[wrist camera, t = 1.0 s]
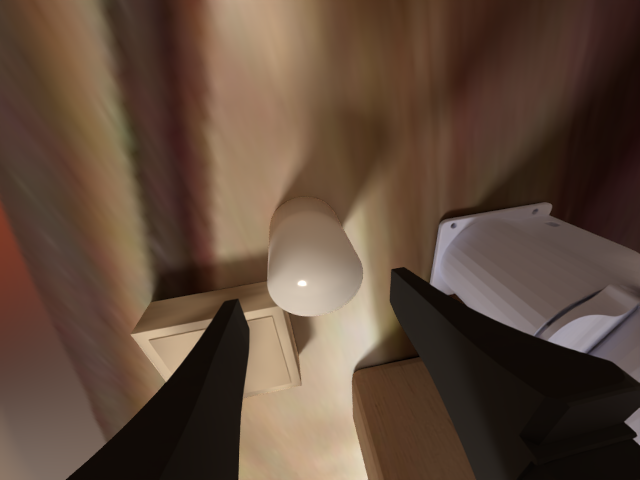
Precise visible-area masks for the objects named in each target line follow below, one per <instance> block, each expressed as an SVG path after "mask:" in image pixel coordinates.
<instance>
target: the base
mask: <svg viewBox="0 0 640 480" xmlns="http://www.w3.org/2000/svg"><path fill="white" fill-rule="evenodd" d="M232 299H239V302H240V304H241V307H242V310H243V312H244V315H245V318H246V321H247V323H248V326H249V329H250V344H249V357H248V365H247V372H246V379H245V386H244V393H243V398H247V397H251V396H256V395H260V394H265V393H269V392H274V391H278V390H283V389H287V388H292V387H296V386H301V374H300V364H299V355H298V350H297V346H296V342H295V338H294V334H293V329H292V325H291V321H290V317H289V313H288V312H287V311H285V310H283V309H282V308H280V307H279V306H278V305H277V304H276V303H275V302H274V301H273V299H272V298H271V296H270V294H269V291H268V286H267V281H265V282H259V283H254V284H248V285H243V286H237V287H232V288H227V289H221V290H216V291H210V292H205V293H199V294H194V295H188V296H183V297H177V298H172V299H166V300H161V301H155V302H150V304H149V306H148V307H147V309H146V311H145V312H144V314H143V315H142V317H141V319H140V320H139V322H138V323H137V325H136V327H135V328H134V330H133V332H132V333H131V336H132V337H133V338H134V340H135V341H136V342H137V344H138V345H139V346H140V348H141V349H142V350H143V352H144V353H145V354H146V356H147V357H148V358H149V360H150V361H151V362H152V364H153V365H154V366H155V368H156V369H157V370H158V372H159V373H160V374H161V376H162V377H163V378H164V380H165V381H166V382H167V380H168V379H169V378H170V377H171V376H172V374H173V373H174V372H175V371H176V369H177V368H178V367H179V366H180V364H181V363H182V362H183V360H184V359H185V358H186V356H187V355H188V354H189V352H190V351H191V350H192V348H193V347H194V346H195V344H196V343H197V342H198V340H199V339H200V337H201V336H202V334H203V333H204V331H205V330H206V328H207V327H208V325H209V324H210V322H211V321H212V319H213V318H214V316H215V315H216V313H217V311H218V310H219V308H220V307H221V305H222V304H223V302H224V301H227V300H232Z"/></svg>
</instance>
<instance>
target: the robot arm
mask: <svg viewBox="0 0 640 480" xmlns="http://www.w3.org/2000/svg"><path fill="white" fill-rule="evenodd" d="M551 209H552V204H550V203H547V202H543V203H538V204H532V205H526V206H520V207H514V208H508V209H503V210H497V211H491V212H485V213H479V214H473V215H468V216H462V217H456V218H450V219H445V220H443V221H442V222H441V223H440V225H439V230H438V236H437V243H436V249H435V255H434V261H433V267H432V273H431V279H430V284H429V283H427V282H426V281H424V280H423V279H421V278H420V277H418V276H417V275H415V274H414V273H412V272H411V271H409V270H408V269H406V268H404V267H401V268H396V269H391V287H390V303H391V305H392V308H393V310H394V312H395V314H396V317H397V319H398V321H399V322H400V324H401V326H402V328H403V329H404V331H405V333H406V334H407V336H408V338H409V339H410V341H411V343H412V344H413V346H414V348H415V349H416V351H417V353H418V354H419V356H420V358H421V359H422V361H423V363H424V364H425V366H426V368H427V370H428V372H429V374H430V376H431V378H432V380H433V382H434V384H435V386H436V388H437V390H438V392H439V394H440V396H441V399H442V401H443V403H444V405H445V407H446V410H447V412H448V414H449V416H450V418H451V421H452V423H453V425H454V428H455V430H456V432H457V434H458V437H459V439H460V441H461V444H462V446H463V448H464V451H465V453H466V456H467V458H468V461H469V463H470V466H471V468H472V471H473V473H474V476H475V478H476V480H640V254H639V253H637V252H635V251H633V250H631V249H629V248H627V247H624V246H622V245H619V244H617V243H615V242H612V241H610V240H607V239H605V238H603V237H600V236H598V235H595V234H593V233H591V232H588V231H586V230H583V229H581V228H579V227H576V226H574V225H571V224H569V223H566V222H564V221H562V220H559V219H557V218H554V217H552V216H550V215H549V214H550V212H551ZM453 223H454V224H453ZM452 224H453V225H452ZM451 225H452V226H451ZM455 293H456V295H457V296H458V297H459V298H460V299H461V300H462V301H463V302H464V303H465V304H466V305H467V306H466V305H464V304H462V303H461V302H459V301H457V300H455V299H453V298H452V297H450V296H448V295H451V294H455ZM249 344H250V329H249V326H248V323H247V321H246V318H245V315H244V312H243V310H242V307H241V304H240V302H239V299H232V300H227V301H224V302H223V304H222V305H221V307H220V308H219V310H218V311H217V313H216V315H215V316H214V318H213V319H212V321H211V322H210V324H209V325H208V327H207V328H206V330H205V331H204V333H203V334H202V336H201V337H200V339H199V340H198V342H197V343H196V344H195V346H194V347H193V348H192V350H191V351H190V352H189V354H188V355H187V356H186V358H185V359H184V360H183V362H182V363H181V364H180V366H179V367H178V368H177V369H176V371H175V372H174V373H173V374H172V376H171V377H170V378H169V379H168V380H167V382H166V383H165V384H164V385H163V386H162V387H161V389H160V390H159V391H158V392H157V393H156V394H155V395H154V396H153V397H152V398H151V399H150V400H149V401H148V403H147V404H146V405H145V406H144V407H143V408H142V409H141V410H140V411H139V412H138V413H137V414H136V415H135V416H134V417H133V418H132V419H131V420H130V421H129V422H128V423H127V424H126V425H125V426H124V427H123V428H122V429H121V430H120V431H119V432H118V433H117V434H116V435H115V436H114V437H113V438H112V439H111V440H110V441H108V442H107V443H106V444H105V445H104V446H103V447H102V448H101V449H100V450H99V451H98V452H97V453H96V454H95V455H93V456H92V457H91V458H90V459H89V460H88V461H87V462H86V463H84V464H83V465H82V466H81V467H80V468H79V469H77V470H76V471H75V472H74V473H73V474H72V475H71V476H69V477H68V478H67V479H66V480H238V474H239V443H240V422H241V409H242V401H243V393H244V386H245V379H246V372H247V365H248V357H249Z"/></svg>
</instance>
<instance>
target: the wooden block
mask: <svg viewBox="0 0 640 480" xmlns="http://www.w3.org/2000/svg"><path fill="white" fill-rule="evenodd" d="M352 398H353V419H354V423H355V427H356V431H357V435H358V439H359V444H360V448H361V452H362V456H363V460H364V464H365V468H366V472H367V476H368V480H476V478H475V476H474V473H473V471H472V468H471V466H470V463H469V461H468V458H467V456H466V453H465V451H464V448H463V446H462V444H461V441H460V439H459V437H458V434H457V432H456V430H455V428H454V425H453V423H452V421H451V418H450V416H449V414H448V412H447V410H446V407H445V405H444V403H443V401H442V399H441V396H440V394H439V392H438V390H437V388H436V386H435V384H434V382H433V380H432V378H431V376H430V374H429V372H428V370H427V368H426V366H425V364H424V363H423V361H422V359H421V358H420V357H418V358H413V359H408V360H403V361H399V362H394V363H389V364H384V365H379V366H375V367H370V368H365V369H360V370H358V371H356V372H354V374H353V377H352Z"/></svg>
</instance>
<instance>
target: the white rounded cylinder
mask: <svg viewBox="0 0 640 480" xmlns="http://www.w3.org/2000/svg"><path fill="white" fill-rule="evenodd" d="M362 279H363V268H362V264H361V261H360V259H359V257H358V255H357V254H356V252H355V250H354V248H353V246H352V244H351V242H350V241H349V239H348V237H347V235H346V233H345V231H344V229H343V227H342V226H341V224H340V222H339V220H338V218H337V216H336V214H335V212H334V211H333V209H332V208H331V207H330V206H329V205H328V204H327V203H325V202H324V201H322V200H320V199H317V198H314V197H297V198H293V199H291V200H289V201H287V202H285V203H283V204H282V205H281V206H280V207H279V208H278V209H277V210H276V211H275V213H274V214H273V216H272V218H271V222H270V228H269V251H268V275H267V286H268V291H269V294H270V296H271V298H272V299H273V301H274V302H275V303H276V304H277V305H278V306H279V307H280V308H282V309H283V310H285V311H287V312H289V313H292V314H295V315H299V316H320V315H324V314H328V313H331V312H333V311H336V310H338V309H339V308H341V307H343V306H344V305H346V304H347V303H348V302H349V301H350V300H351V299H352V298H353V297H354V296H355V295H356V293H357V292H358V290H359V288H360V286H361V283H362Z"/></svg>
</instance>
